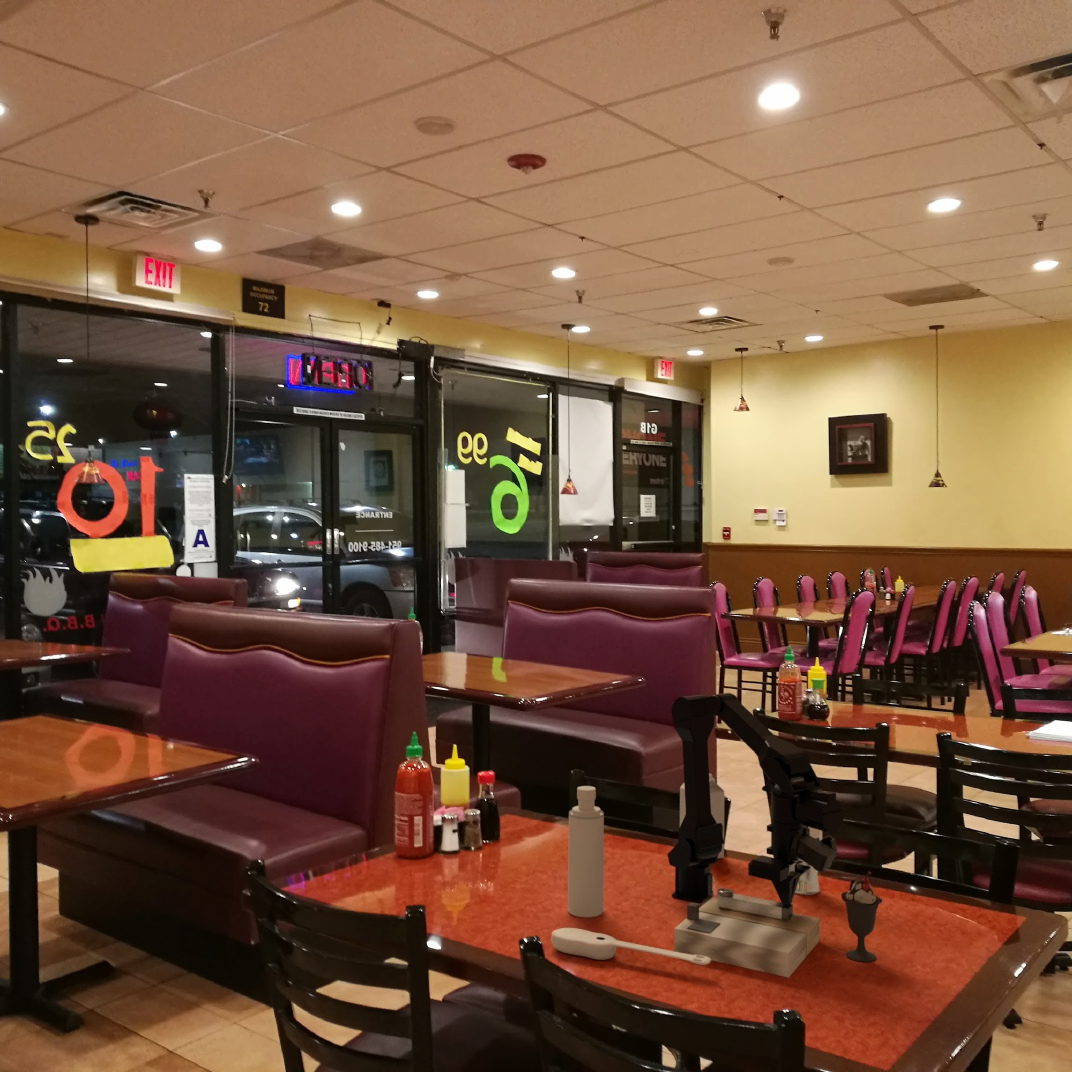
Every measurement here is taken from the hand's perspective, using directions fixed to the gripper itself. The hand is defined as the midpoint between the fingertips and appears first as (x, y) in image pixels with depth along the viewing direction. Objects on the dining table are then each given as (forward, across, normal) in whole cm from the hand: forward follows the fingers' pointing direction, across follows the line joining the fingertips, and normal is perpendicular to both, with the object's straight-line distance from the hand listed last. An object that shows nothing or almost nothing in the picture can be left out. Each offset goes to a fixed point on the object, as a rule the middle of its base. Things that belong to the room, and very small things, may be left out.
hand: (786, 906), depth 188 cm
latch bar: (0, -5, +4) cm, 6 cm away
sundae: (+5, -1, -14) cm, 15 cm away
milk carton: (+5, +29, +35) cm, 46 cm away
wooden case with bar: (+5, -10, +2) cm, 11 cm away
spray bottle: (+5, -15, +34) cm, 38 cm away
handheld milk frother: (+5, -29, +14) cm, 33 cm away
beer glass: (+5, +24, +8) cm, 26 cm away
